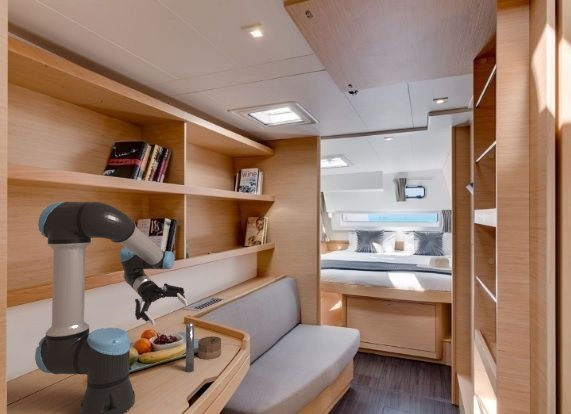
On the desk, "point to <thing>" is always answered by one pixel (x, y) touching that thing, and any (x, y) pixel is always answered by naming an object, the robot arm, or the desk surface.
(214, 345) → the bead
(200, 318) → the desk surface
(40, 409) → the desk surface
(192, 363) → the round-tipped metal rod
